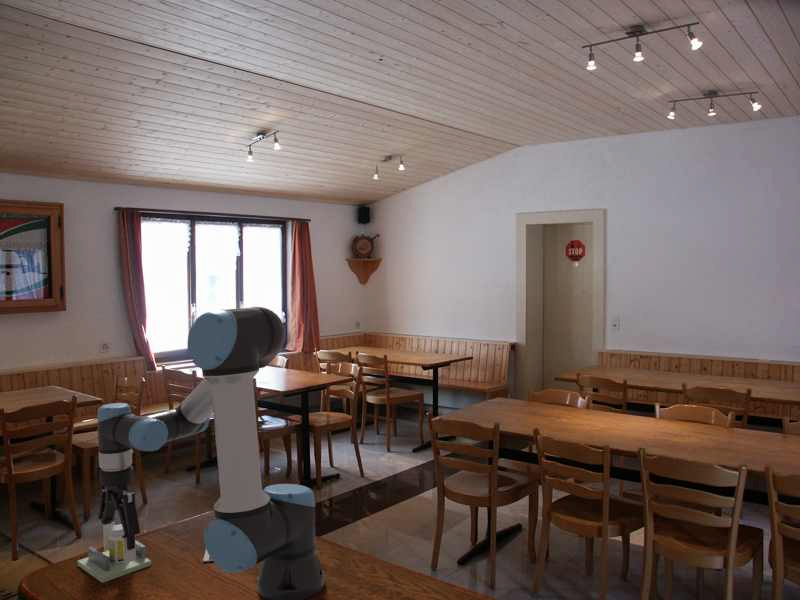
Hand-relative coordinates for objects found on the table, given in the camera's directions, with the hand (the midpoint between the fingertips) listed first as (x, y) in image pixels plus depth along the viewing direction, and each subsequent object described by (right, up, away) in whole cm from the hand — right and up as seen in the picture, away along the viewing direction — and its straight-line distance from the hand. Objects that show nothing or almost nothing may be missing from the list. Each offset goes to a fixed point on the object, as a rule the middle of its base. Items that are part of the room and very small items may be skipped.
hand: (119, 554), depth 164 cm
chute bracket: (-1, -1, +1) cm, 2 cm away
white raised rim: (+25, -3, +8) cm, 27 cm away
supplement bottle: (0, -2, 0) cm, 2 cm away
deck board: (-1, -3, 0) cm, 3 cm away
